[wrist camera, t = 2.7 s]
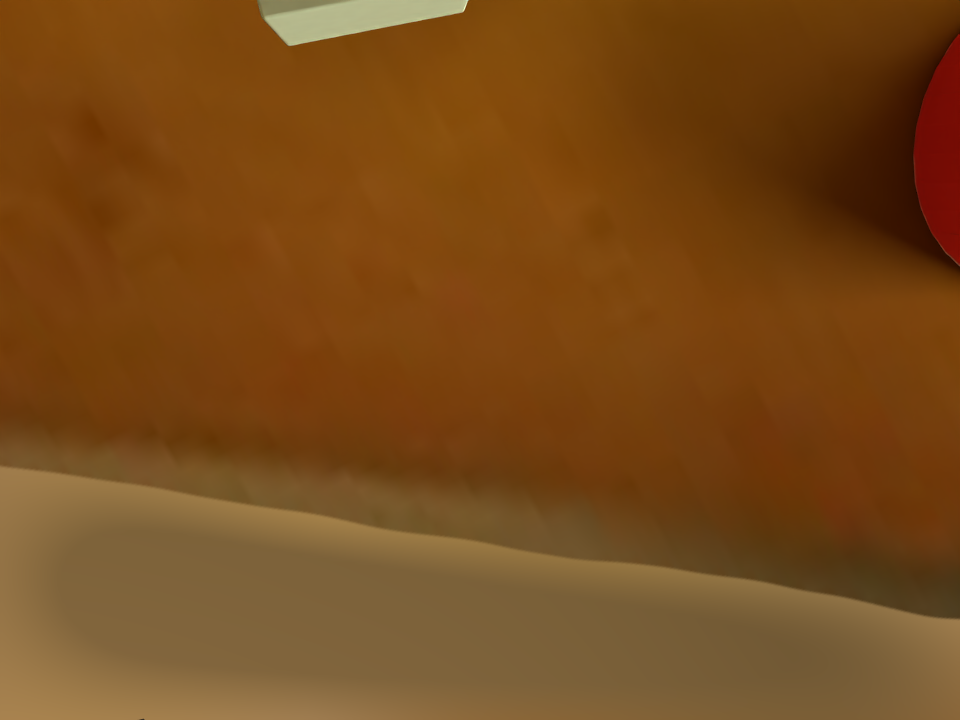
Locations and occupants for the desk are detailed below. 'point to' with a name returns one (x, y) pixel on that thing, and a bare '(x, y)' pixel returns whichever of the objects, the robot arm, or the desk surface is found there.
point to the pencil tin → (346, 16)
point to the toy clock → (941, 153)
